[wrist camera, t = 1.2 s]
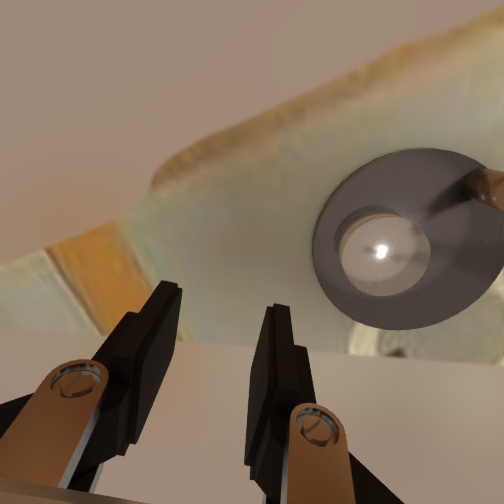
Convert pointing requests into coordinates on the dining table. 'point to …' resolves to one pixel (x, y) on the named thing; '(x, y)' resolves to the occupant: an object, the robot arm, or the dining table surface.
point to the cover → (381, 250)
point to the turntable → (434, 227)
